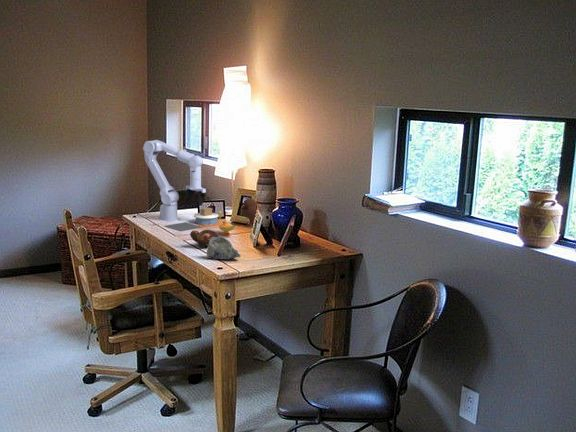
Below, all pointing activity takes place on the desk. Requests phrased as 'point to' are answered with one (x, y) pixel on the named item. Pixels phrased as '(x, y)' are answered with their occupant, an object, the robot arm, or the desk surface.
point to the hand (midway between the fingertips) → (195, 204)
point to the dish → (206, 221)
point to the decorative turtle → (203, 237)
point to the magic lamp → (226, 227)
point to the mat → (183, 226)
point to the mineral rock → (221, 249)
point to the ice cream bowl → (249, 210)
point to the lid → (206, 214)
